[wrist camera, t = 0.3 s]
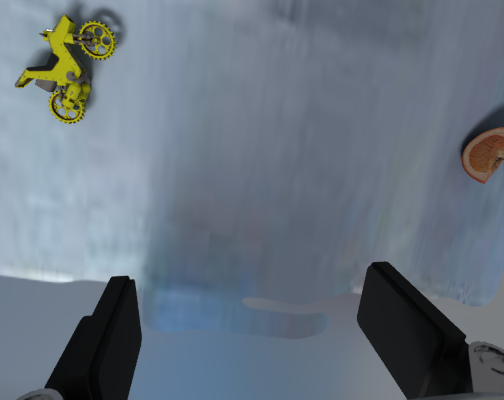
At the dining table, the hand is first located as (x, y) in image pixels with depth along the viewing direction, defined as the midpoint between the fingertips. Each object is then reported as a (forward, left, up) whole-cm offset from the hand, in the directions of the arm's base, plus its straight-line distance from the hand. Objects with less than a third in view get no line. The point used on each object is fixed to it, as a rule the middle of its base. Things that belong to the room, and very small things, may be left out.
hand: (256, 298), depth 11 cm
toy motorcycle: (+5, -19, -31) cm, 36 cm away
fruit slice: (-28, +29, -31) cm, 51 cm away
